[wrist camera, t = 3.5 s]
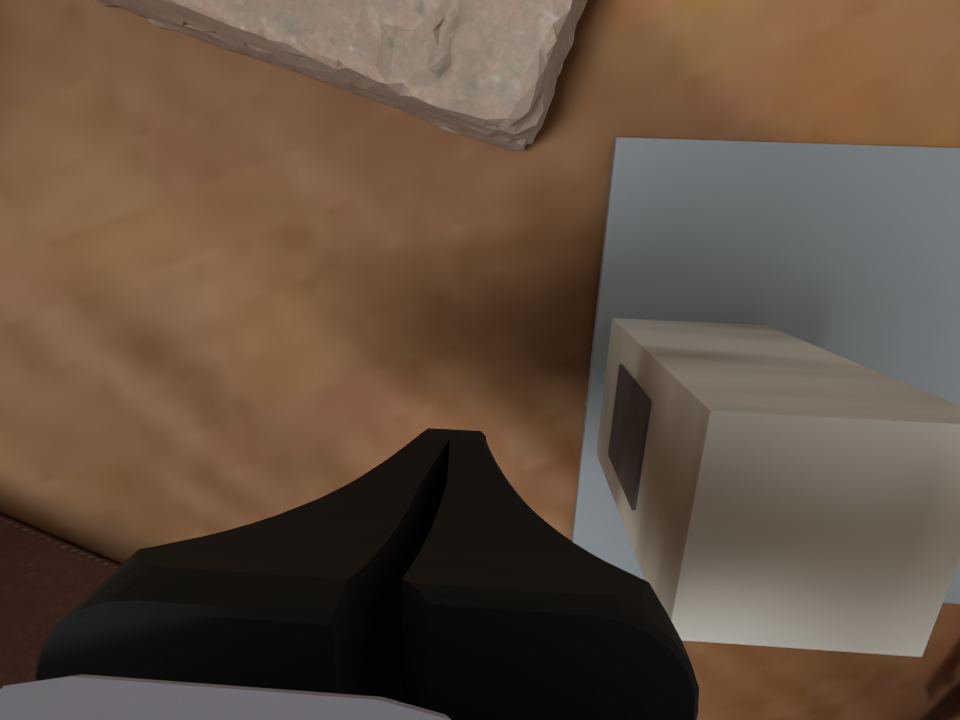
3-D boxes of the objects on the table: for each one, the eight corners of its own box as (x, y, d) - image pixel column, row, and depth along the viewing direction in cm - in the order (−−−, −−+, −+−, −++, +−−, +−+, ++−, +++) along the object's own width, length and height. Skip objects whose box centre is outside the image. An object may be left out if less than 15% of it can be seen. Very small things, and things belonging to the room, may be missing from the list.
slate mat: (1088, 606, 19) (1097, 613, 18) (567, 572, 19) (568, 578, 19) (1308, 161, 14) (1325, 159, 14) (614, 138, 15) (616, 137, 14)
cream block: (736, 461, 17) (921, 657, 10) (593, 453, 17) (662, 638, 10) (765, 325, 16) (1011, 426, 8) (609, 317, 16) (705, 410, 8)
